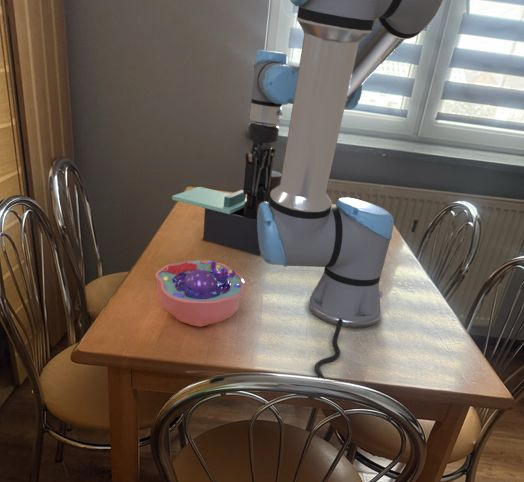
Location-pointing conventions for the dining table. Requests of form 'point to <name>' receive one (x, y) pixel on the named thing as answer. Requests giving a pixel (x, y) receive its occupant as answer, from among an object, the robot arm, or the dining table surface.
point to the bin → (231, 230)
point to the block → (256, 208)
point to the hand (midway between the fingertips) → (253, 216)
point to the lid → (213, 199)
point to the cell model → (199, 291)
